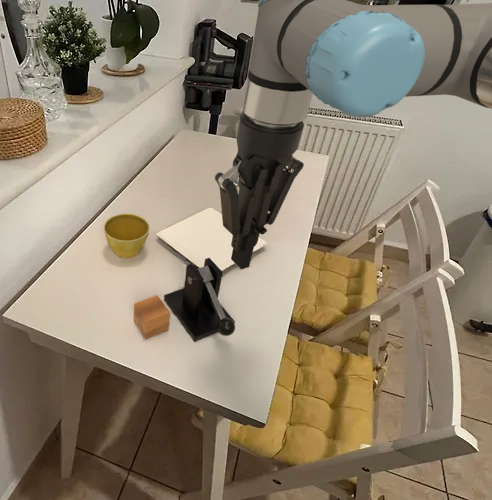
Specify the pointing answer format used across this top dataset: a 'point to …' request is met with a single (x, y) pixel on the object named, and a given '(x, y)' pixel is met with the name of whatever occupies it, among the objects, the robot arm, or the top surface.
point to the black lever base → (197, 302)
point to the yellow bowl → (126, 234)
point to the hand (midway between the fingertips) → (239, 262)
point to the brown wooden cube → (151, 316)
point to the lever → (216, 303)
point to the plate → (203, 239)
